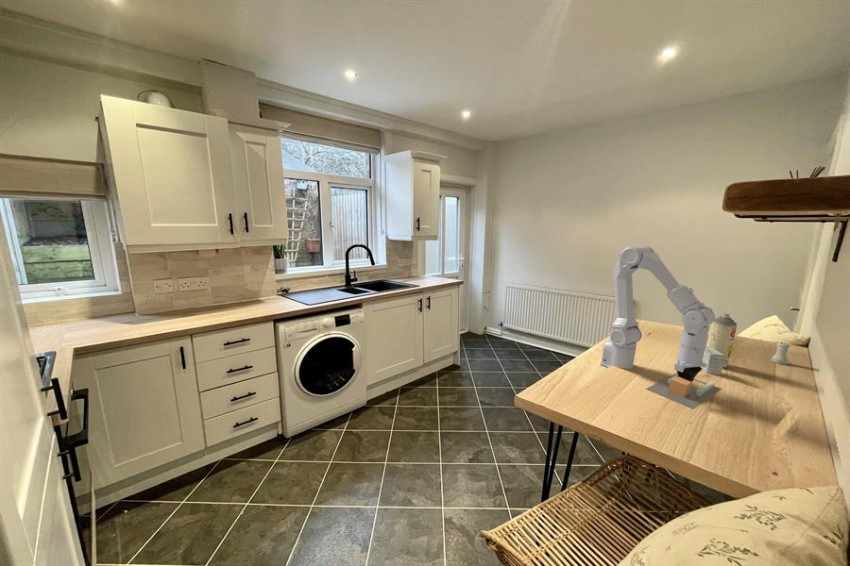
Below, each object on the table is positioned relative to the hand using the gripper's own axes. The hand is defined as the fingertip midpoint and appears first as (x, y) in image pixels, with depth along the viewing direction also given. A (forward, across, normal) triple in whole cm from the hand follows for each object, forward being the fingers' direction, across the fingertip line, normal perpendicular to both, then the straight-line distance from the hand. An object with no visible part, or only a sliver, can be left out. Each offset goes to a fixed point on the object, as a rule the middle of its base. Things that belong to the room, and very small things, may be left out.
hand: (683, 387), depth 98 cm
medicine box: (+2, +25, +2) cm, 25 cm away
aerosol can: (+2, +37, +3) cm, 37 cm away
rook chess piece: (+2, +62, -9) cm, 62 cm away
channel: (+2, +2, 0) cm, 3 cm away
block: (+1, -4, 0) cm, 4 cm away
